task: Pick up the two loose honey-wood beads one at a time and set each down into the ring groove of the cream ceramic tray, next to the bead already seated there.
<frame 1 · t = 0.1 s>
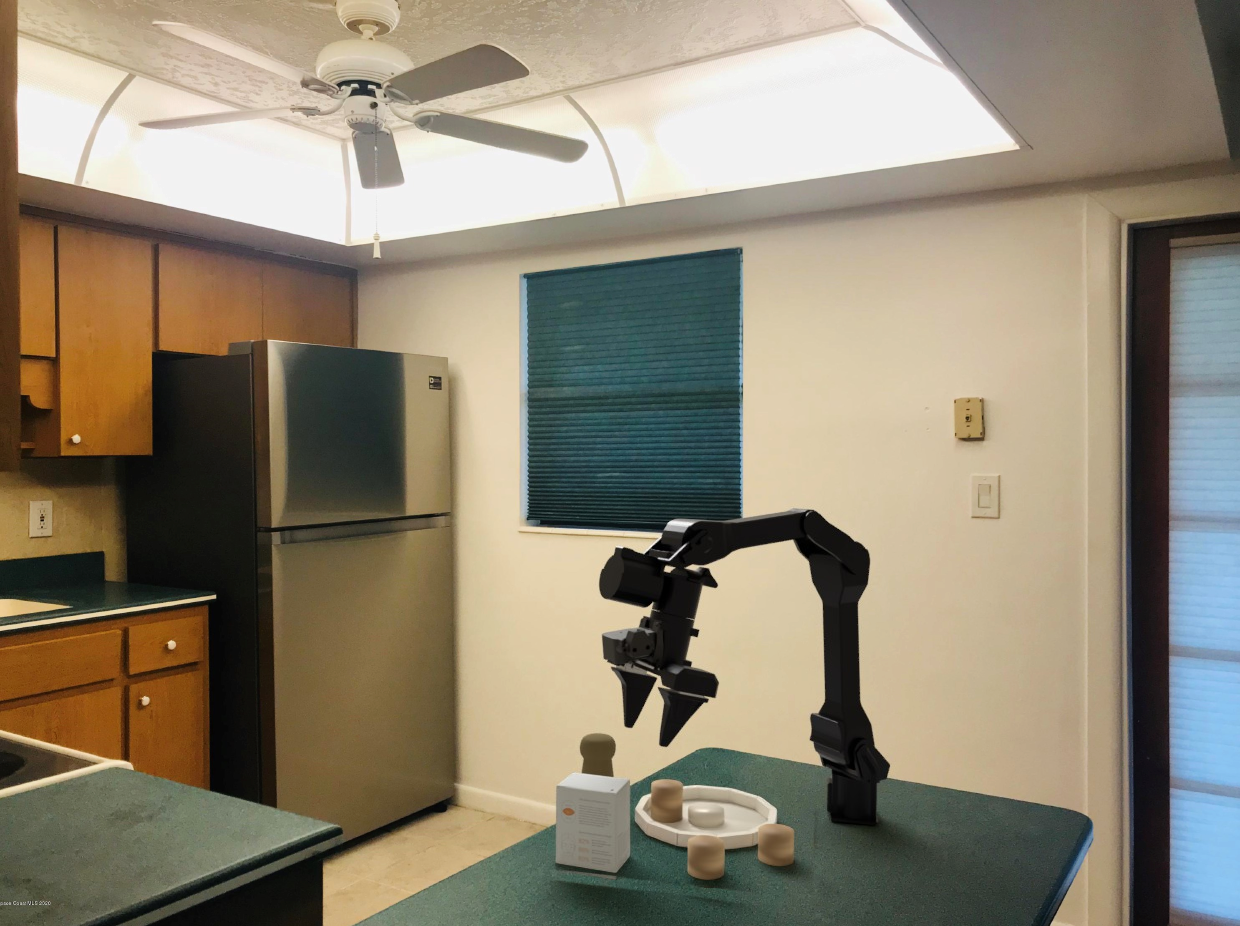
hand: (645, 736, 116), 15 cm above the counter, tool pointing down, fingers open, 9 cm apart
bead b: (705, 879, 110), on the counter
cork: (596, 813, 132), on the counter
bead c: (666, 816, 127), point 1 cm above the counter, touching tray
tray: (705, 828, 126), on the counter
bead a: (775, 866, 114), on the counter
small box: (592, 868, 113), on the counter
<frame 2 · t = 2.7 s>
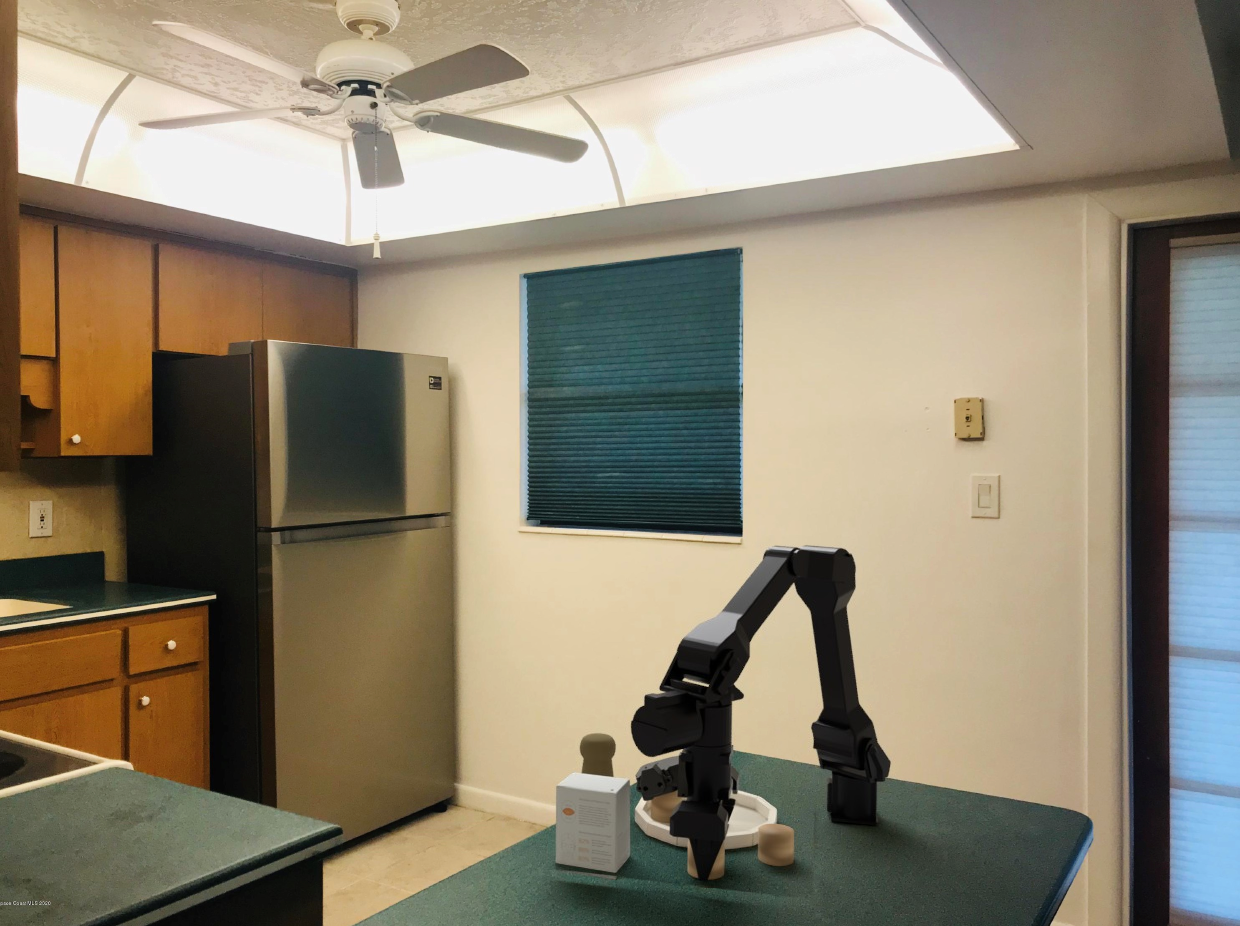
hand: (705, 870, 110), 1 cm above the counter, tool pointing down, fingers closed on bead b, 4 cm apart
bead b: (705, 879, 110), on the counter, touching gripper
everything else where it was.
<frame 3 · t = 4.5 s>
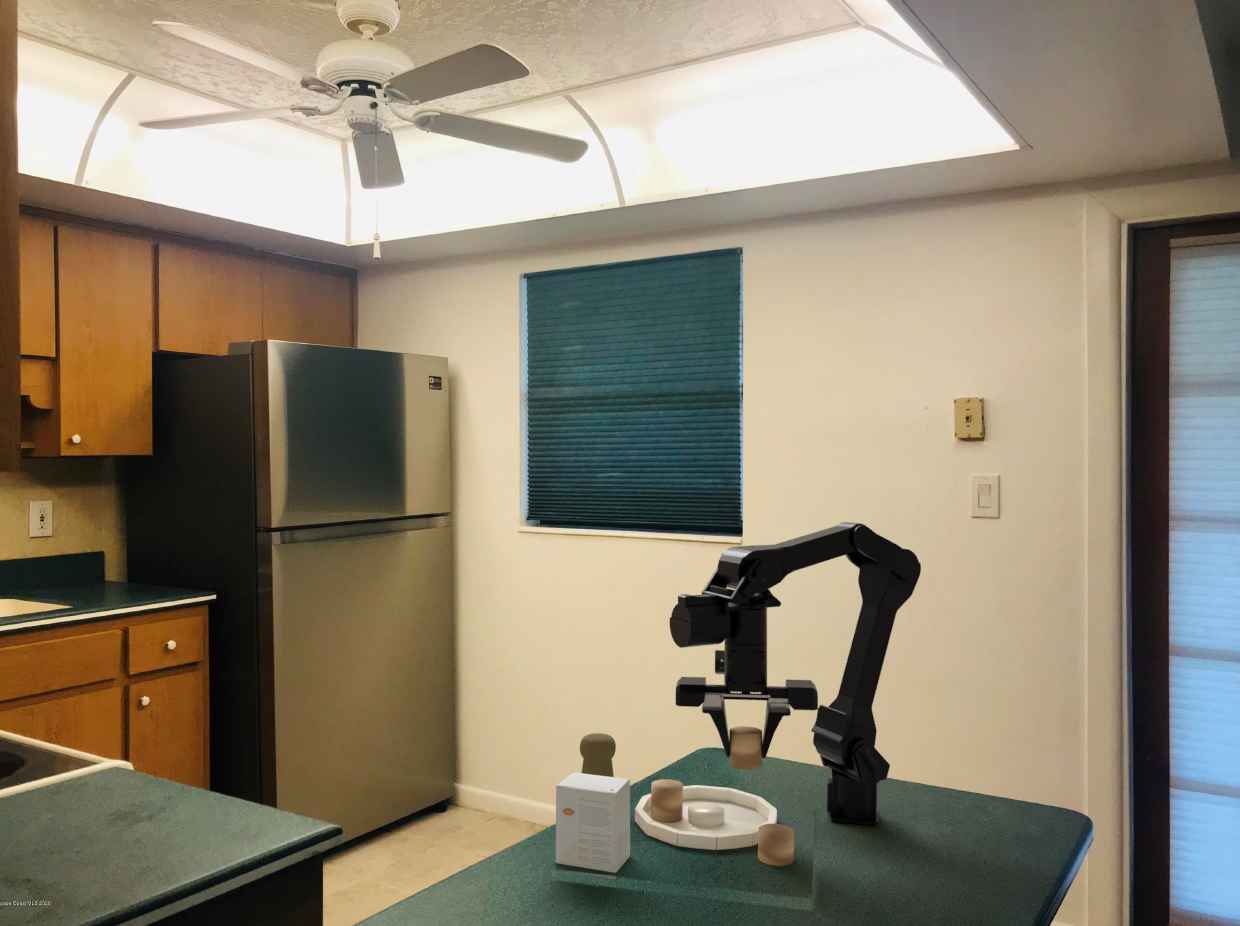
hand: (746, 756, 124), 11 cm above the counter, tool pointing down, fingers closed on bead b, 4 cm apart
bead b: (745, 764, 124), point 10 cm above the counter, touching gripper
everything else where it was.
when the fingers open (3 cm above the counter, at t = 6.4 s): bead b drops 1 cm, resting on tray.
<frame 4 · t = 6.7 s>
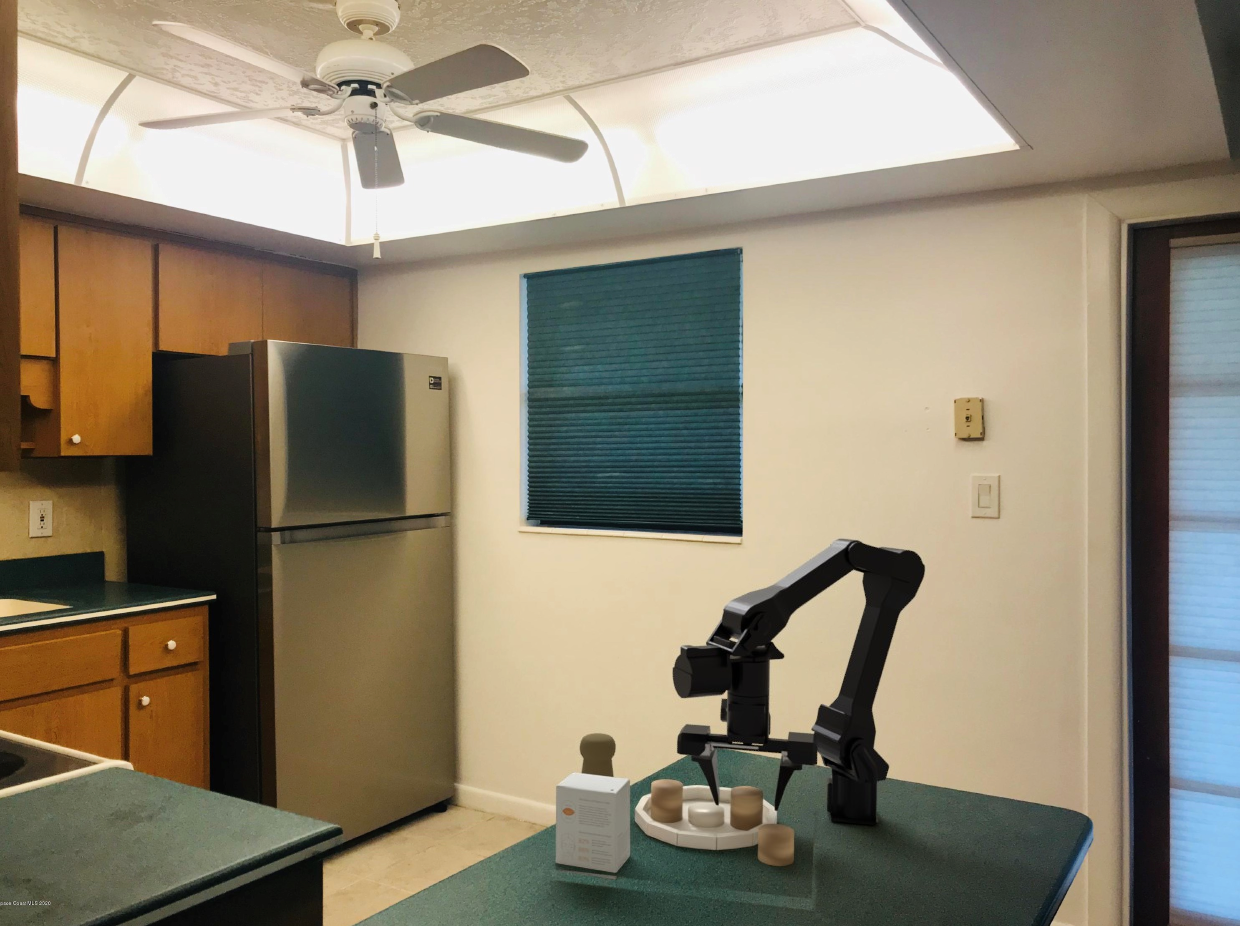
hand: (746, 807, 125), 3 cm above the counter, tool pointing down, fingers open, 8 cm apart
bead b: (746, 824, 125), point 1 cm above the counter, touching tray
everything else where it was.
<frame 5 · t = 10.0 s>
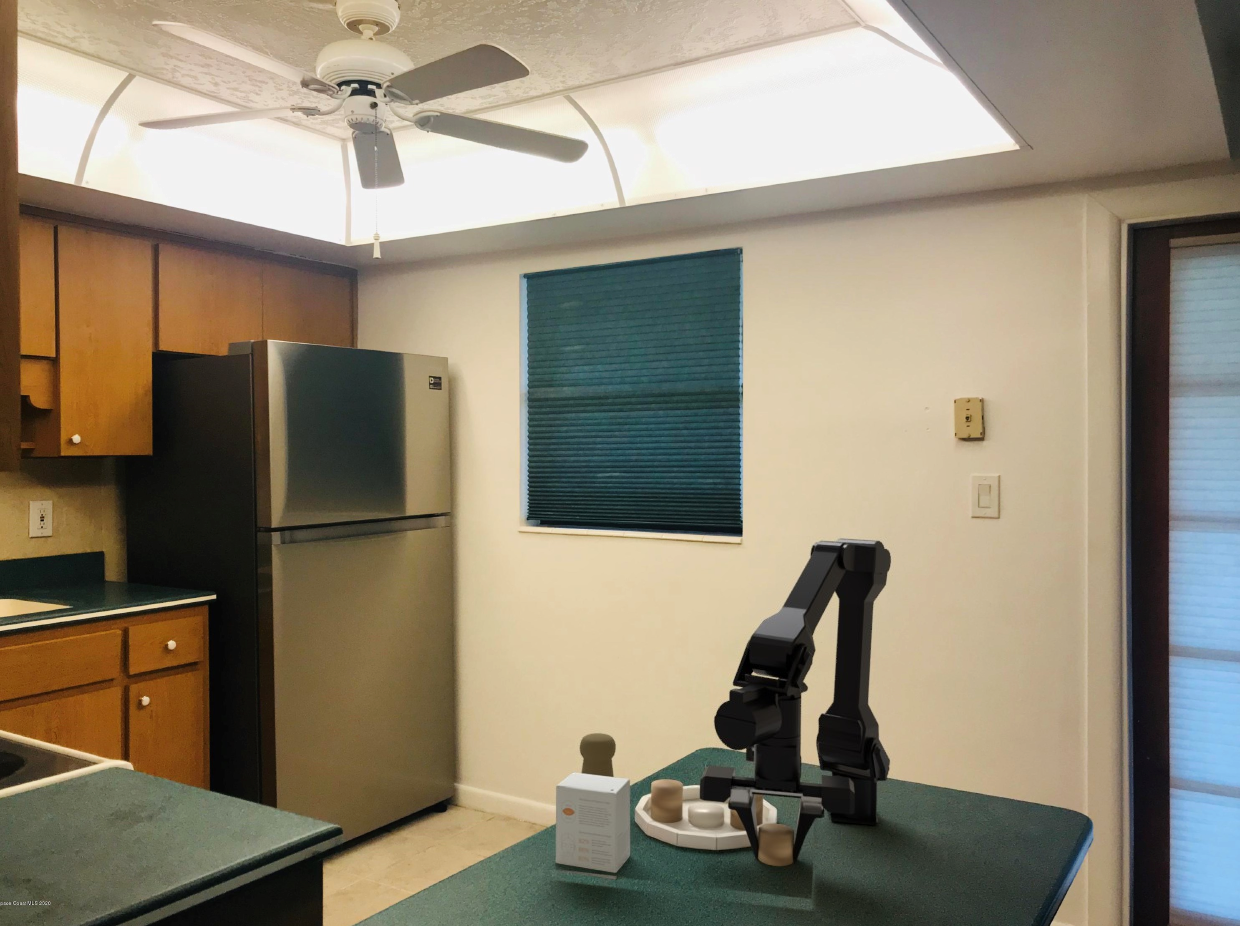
hand: (775, 857, 114), 1 cm above the counter, tool pointing down, fingers closed on bead a, 4 cm apart
bead a: (775, 866, 114), on the counter, touching gripper
everything else where it was.
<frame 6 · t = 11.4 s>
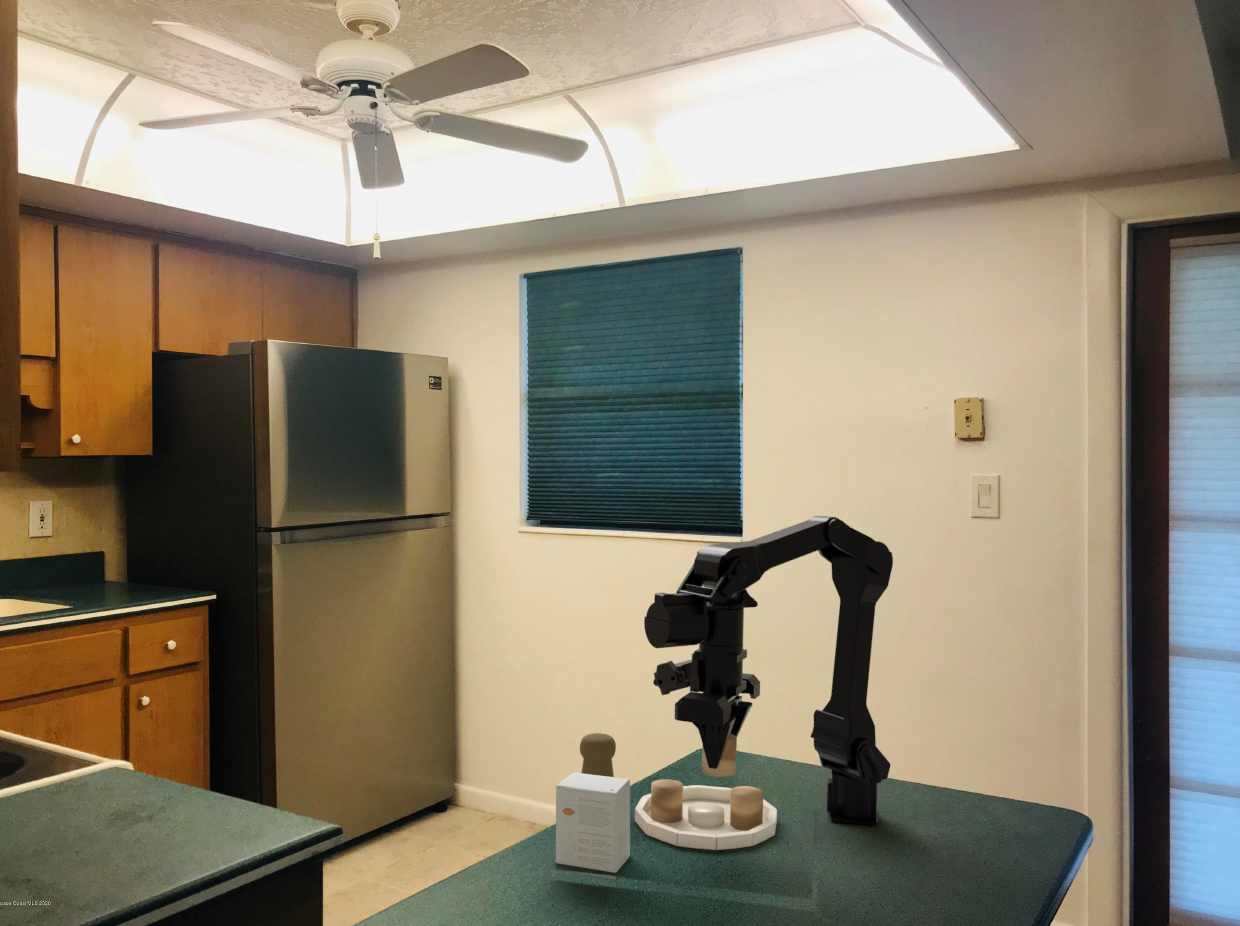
hand: (718, 762, 119), 11 cm above the counter, tool pointing down, fingers closed on bead a, 4 cm apart
bead a: (718, 771, 119), point 10 cm above the counter, touching gripper
everything else where it was.
when the fingers open (3 cm above the counter, at t = 13.3 s): bead a drops 1 cm, resting on tray.
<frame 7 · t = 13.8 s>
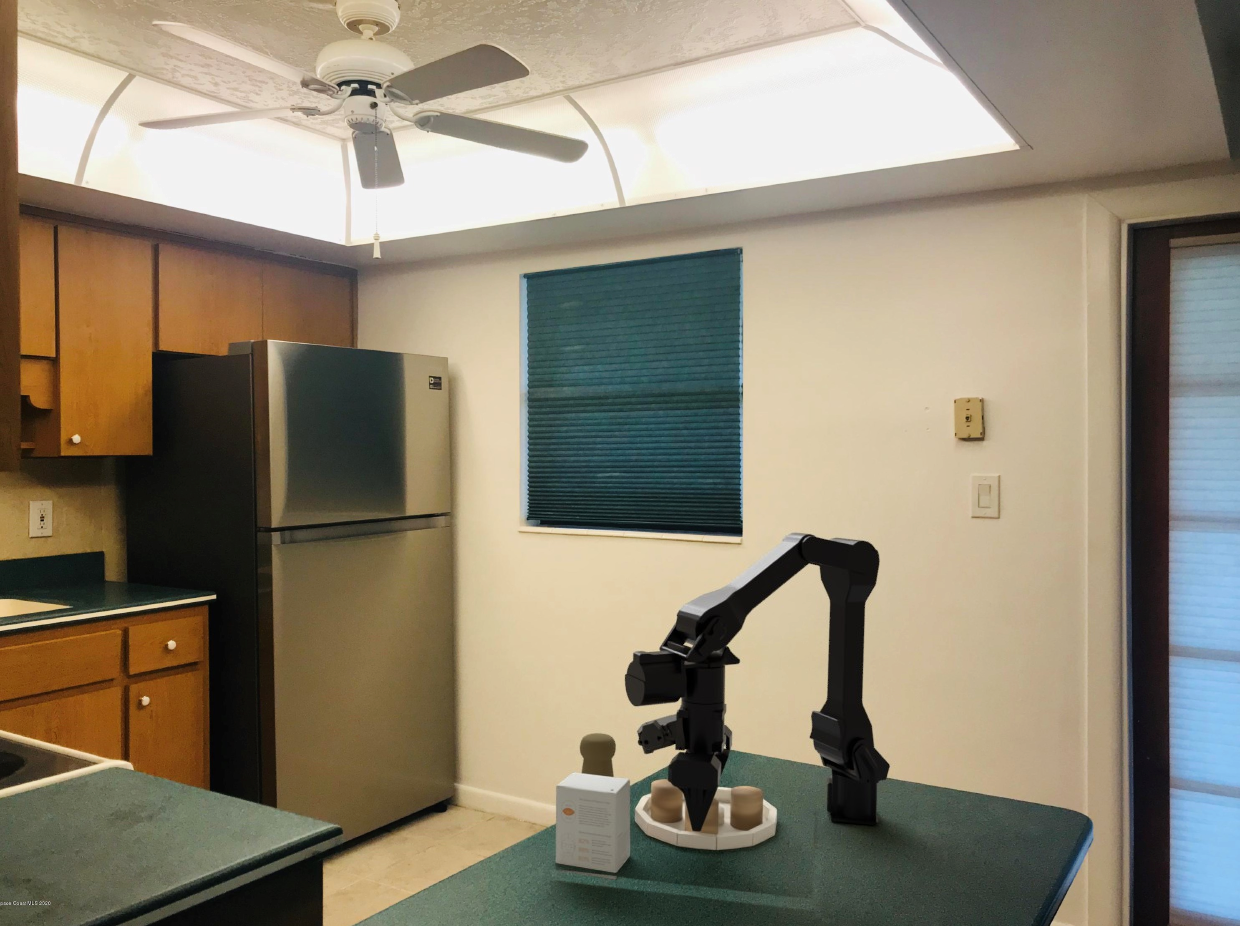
hand: (701, 817, 121), 3 cm above the counter, tool pointing down, fingers open, 9 cm apart
bead a: (701, 835, 121), point 1 cm above the counter, touching tray
everything else where it was.
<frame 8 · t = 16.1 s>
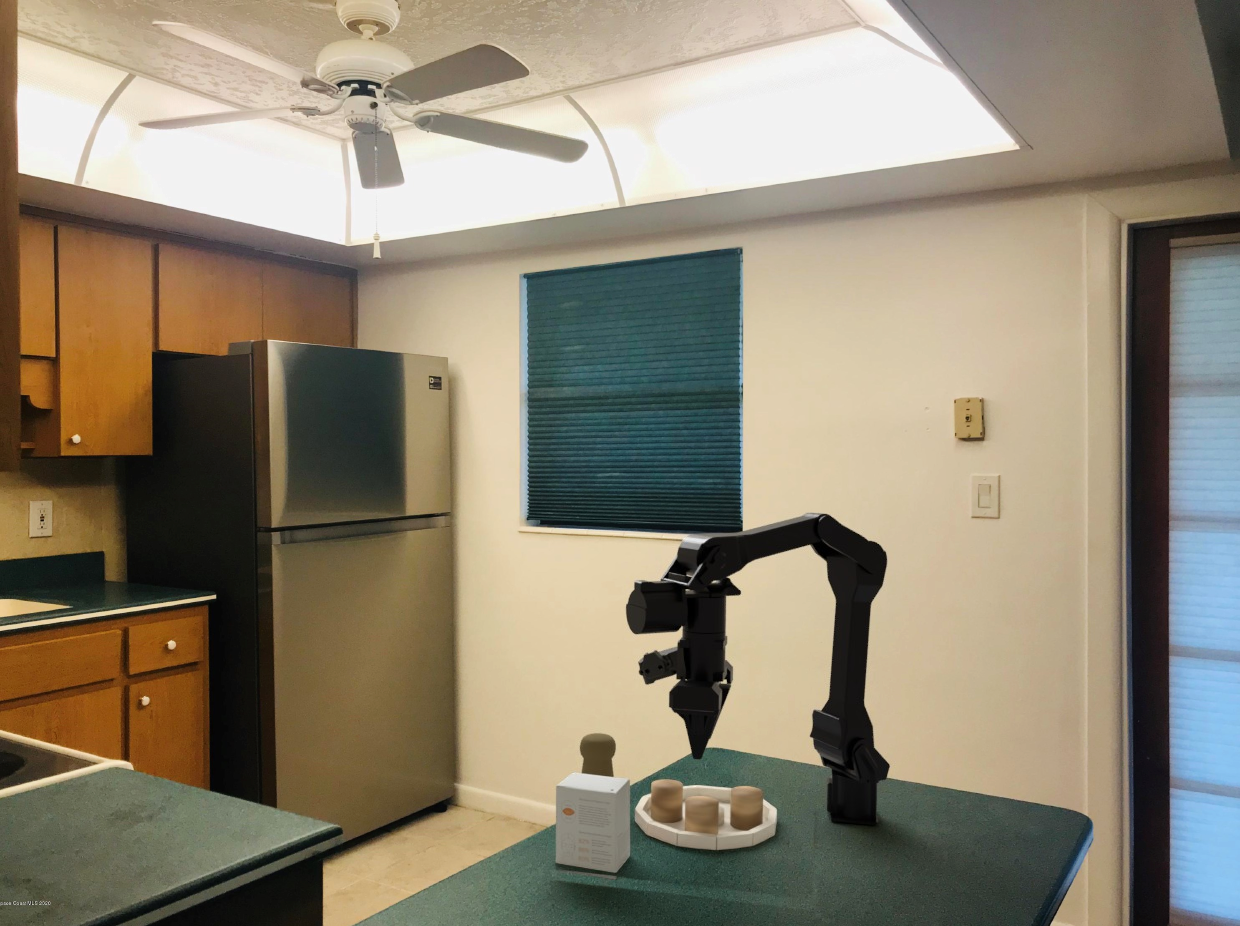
hand: (702, 748, 121), 12 cm above the counter, tool pointing down, fingers open, 9 cm apart
nothing on the counter moved.
at the end: bead b 0.1 cm from the target spot on the tray, point 1.0 cm above the tray's base; bead a 0.1 cm from the target spot on the tray, point 1.0 cm above the tray's base; bead b tilted 0° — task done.
